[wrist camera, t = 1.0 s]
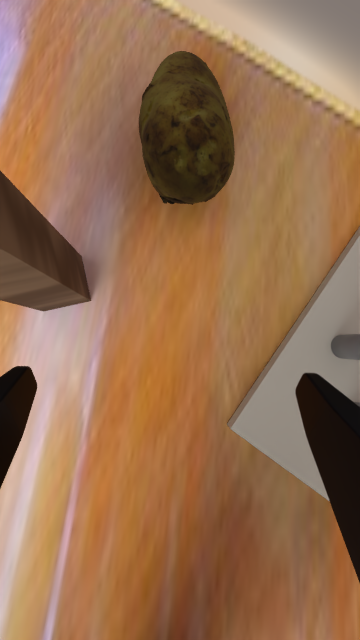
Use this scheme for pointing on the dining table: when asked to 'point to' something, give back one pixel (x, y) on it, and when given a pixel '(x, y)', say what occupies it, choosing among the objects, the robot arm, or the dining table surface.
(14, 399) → the robot arm
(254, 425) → the peg plate
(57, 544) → the dining table surface
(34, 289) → the walnut block
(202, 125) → the potato
